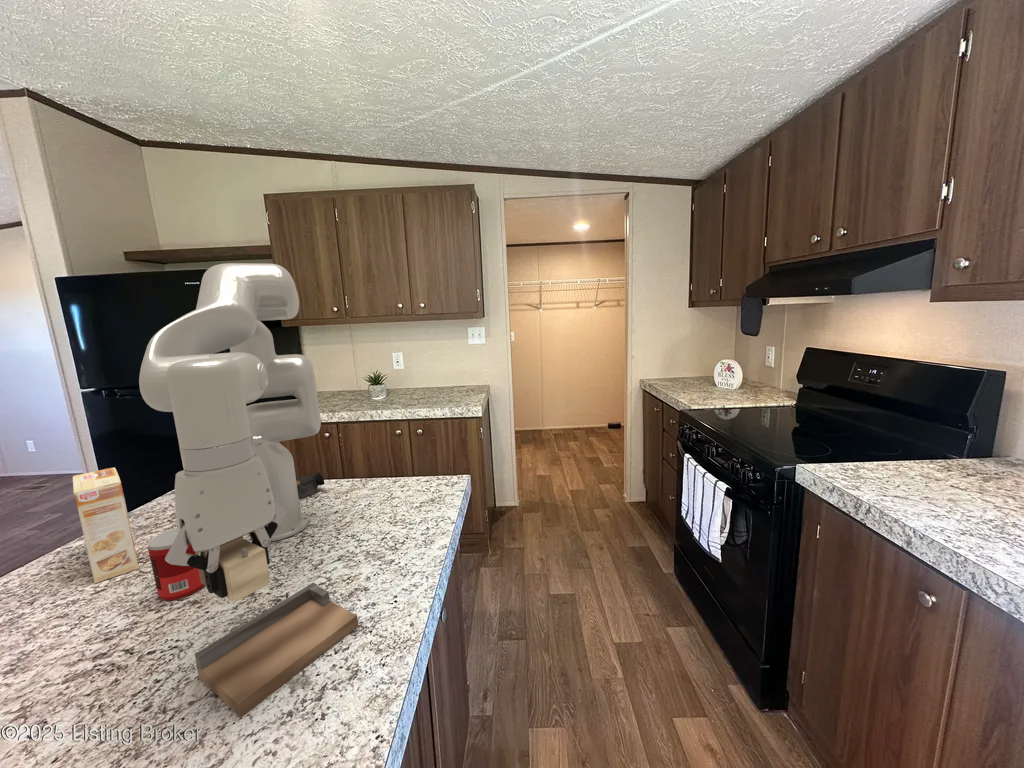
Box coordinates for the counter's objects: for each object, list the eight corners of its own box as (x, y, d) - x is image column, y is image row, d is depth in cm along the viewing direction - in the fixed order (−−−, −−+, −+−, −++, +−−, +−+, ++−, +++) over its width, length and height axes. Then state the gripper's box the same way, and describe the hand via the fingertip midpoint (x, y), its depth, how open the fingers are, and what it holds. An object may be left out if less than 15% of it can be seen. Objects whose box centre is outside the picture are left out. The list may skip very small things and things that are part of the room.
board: (199, 677, 59) (194, 653, 59) (315, 602, 74) (312, 582, 74) (240, 717, 53) (235, 690, 52) (358, 626, 68) (355, 604, 67)
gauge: (200, 582, 57) (190, 529, 56) (239, 563, 62) (231, 513, 60) (232, 603, 53) (222, 545, 51) (272, 581, 57) (263, 527, 56)
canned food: (219, 578, 83) (210, 527, 81) (176, 605, 75) (165, 549, 74) (193, 572, 85) (183, 522, 84) (148, 597, 78) (137, 543, 76)
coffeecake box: (140, 568, 88) (121, 481, 85) (93, 585, 83) (71, 493, 80) (132, 544, 98) (115, 465, 95) (90, 558, 93) (70, 475, 90)
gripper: (270, 433, 62) (286, 545, 65) (122, 472, 48) (152, 612, 51) (298, 439, 58) (315, 558, 61) (147, 483, 44) (177, 634, 47)
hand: (240, 581), depth 56 cm, fingers closed on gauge, 4 cm apart
